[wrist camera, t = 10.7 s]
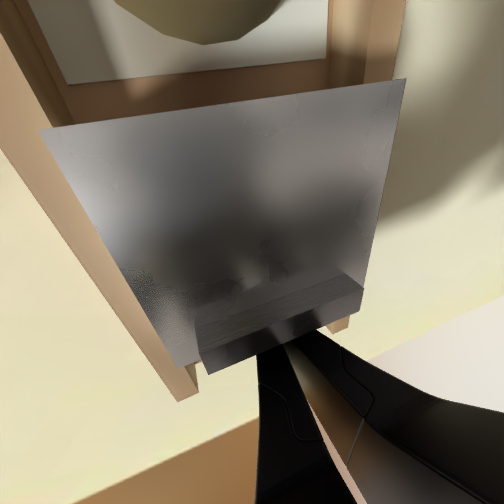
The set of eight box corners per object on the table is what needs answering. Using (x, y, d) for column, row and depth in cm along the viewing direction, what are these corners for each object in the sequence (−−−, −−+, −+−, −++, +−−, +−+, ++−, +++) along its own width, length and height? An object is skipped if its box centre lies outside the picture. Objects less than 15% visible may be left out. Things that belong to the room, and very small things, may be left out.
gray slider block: (321, 94, 7) (447, 70, 4) (315, 255, 10) (379, 309, 7) (92, 128, 5) (4, 130, 2) (173, 302, 9) (179, 395, 6)
